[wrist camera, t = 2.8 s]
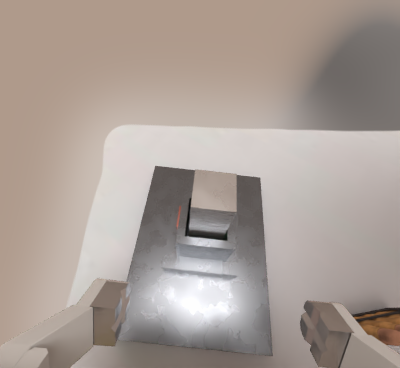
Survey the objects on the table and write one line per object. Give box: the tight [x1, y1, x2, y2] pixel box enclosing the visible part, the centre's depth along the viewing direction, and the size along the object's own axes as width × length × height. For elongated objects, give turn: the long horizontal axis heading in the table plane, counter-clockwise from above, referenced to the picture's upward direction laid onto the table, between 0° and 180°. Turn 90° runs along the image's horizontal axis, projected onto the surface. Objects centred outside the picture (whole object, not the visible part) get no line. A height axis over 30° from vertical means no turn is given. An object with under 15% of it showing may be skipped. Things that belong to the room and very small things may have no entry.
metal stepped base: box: [118, 166, 272, 356], centre depth 27 cm, size 24×18×10 cm
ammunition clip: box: [352, 308, 400, 346], centre depth 22 cm, size 11×2×12 cm, turn 99°
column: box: [189, 170, 237, 240], centre depth 24 cm, size 4×4×14 cm
